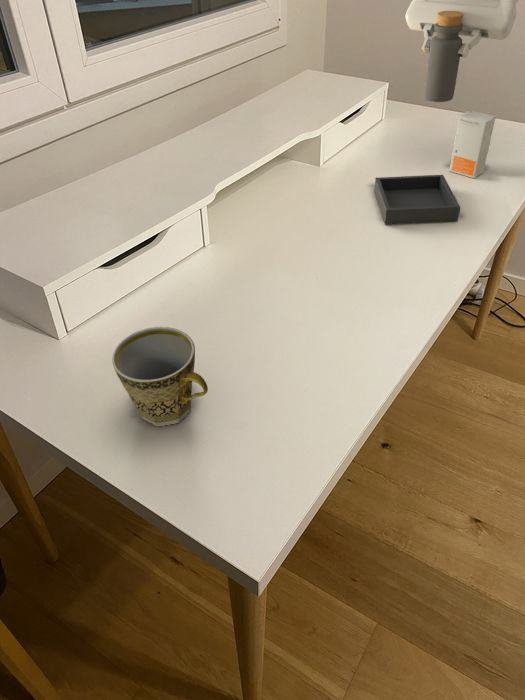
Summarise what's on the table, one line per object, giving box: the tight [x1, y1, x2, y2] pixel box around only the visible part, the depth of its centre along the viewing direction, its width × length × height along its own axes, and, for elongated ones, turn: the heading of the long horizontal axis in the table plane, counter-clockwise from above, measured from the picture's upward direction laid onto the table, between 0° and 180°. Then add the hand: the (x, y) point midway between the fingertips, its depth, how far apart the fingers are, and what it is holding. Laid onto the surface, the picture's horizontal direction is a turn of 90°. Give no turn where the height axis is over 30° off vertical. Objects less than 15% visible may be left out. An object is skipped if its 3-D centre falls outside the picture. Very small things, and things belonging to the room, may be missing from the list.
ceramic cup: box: [111, 326, 209, 427], centre depth 73 cm, size 13×10×10 cm
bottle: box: [423, 11, 464, 103], centre depth 113 cm, size 6×6×15 cm
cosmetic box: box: [449, 109, 496, 180], centre depth 121 cm, size 6×4×12 cm
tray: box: [374, 174, 461, 226], centre depth 114 cm, size 14×14×3 cm
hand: (443, 53), depth 112 cm, fingers closed on bottle, 6 cm apart
